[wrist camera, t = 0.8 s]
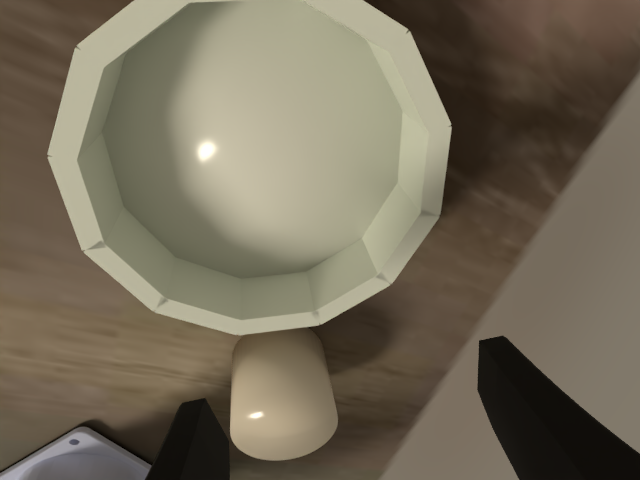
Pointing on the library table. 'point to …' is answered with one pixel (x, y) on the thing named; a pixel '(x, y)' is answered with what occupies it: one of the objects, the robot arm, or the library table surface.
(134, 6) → the bowl
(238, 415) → the marshmallow
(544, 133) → the library table surface
